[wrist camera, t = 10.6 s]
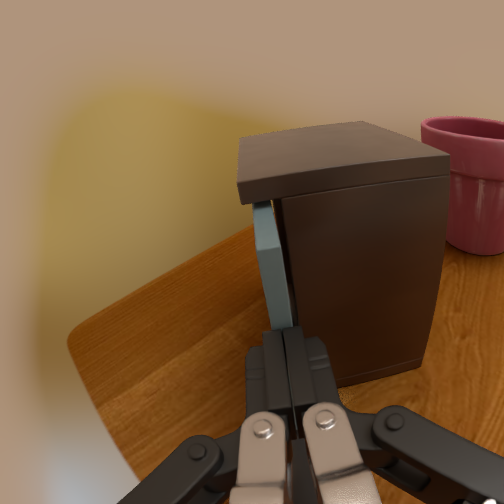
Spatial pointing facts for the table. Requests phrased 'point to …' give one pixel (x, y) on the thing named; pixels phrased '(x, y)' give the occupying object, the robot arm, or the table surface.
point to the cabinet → (354, 244)
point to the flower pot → (472, 180)
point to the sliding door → (272, 269)
